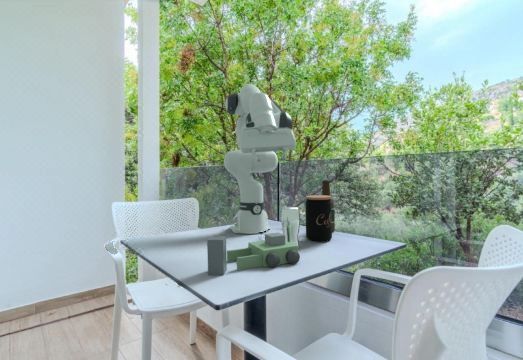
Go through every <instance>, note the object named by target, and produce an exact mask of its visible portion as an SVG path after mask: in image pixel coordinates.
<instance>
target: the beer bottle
mask: <svg viewBox="0 0 523 360" xmlns="http://www.w3.org/2000/svg"><path fill="white" fill-rule="evenodd" d="M321 183H322V188H321V190H322V192H321V195H326V196H331V200H330V201H331V203H332V233H334V232H335V230H336V214H335V213H336V208H335V201H334V200H333V198H332V195H331V188H330V187H331V186H330V183H331V181H330V179H323V180H322V181H321Z"/></svg>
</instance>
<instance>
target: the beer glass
mask: <svg viewBox="0 0 523 360" xmlns="http://www.w3.org/2000/svg"><path fill="white" fill-rule="evenodd" d="M280 217H281V229H282V233H283V235H285V241H287V242H289V243H292V244H294V245H297V246H298V249H300V243H299V233H300V226H301V215H300V207H298V206H283V207H282V208H281V216H280Z"/></svg>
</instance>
